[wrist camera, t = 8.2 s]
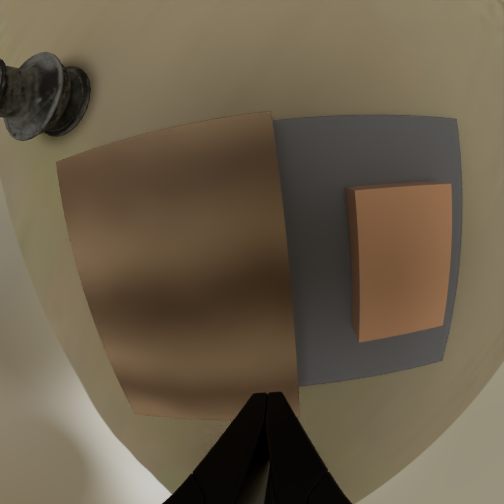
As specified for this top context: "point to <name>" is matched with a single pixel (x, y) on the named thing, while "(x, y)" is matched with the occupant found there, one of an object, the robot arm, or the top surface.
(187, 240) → the board
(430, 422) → the top surface
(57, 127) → the dark grey chess piece
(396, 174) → the mat
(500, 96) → the top surface
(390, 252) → the tile
